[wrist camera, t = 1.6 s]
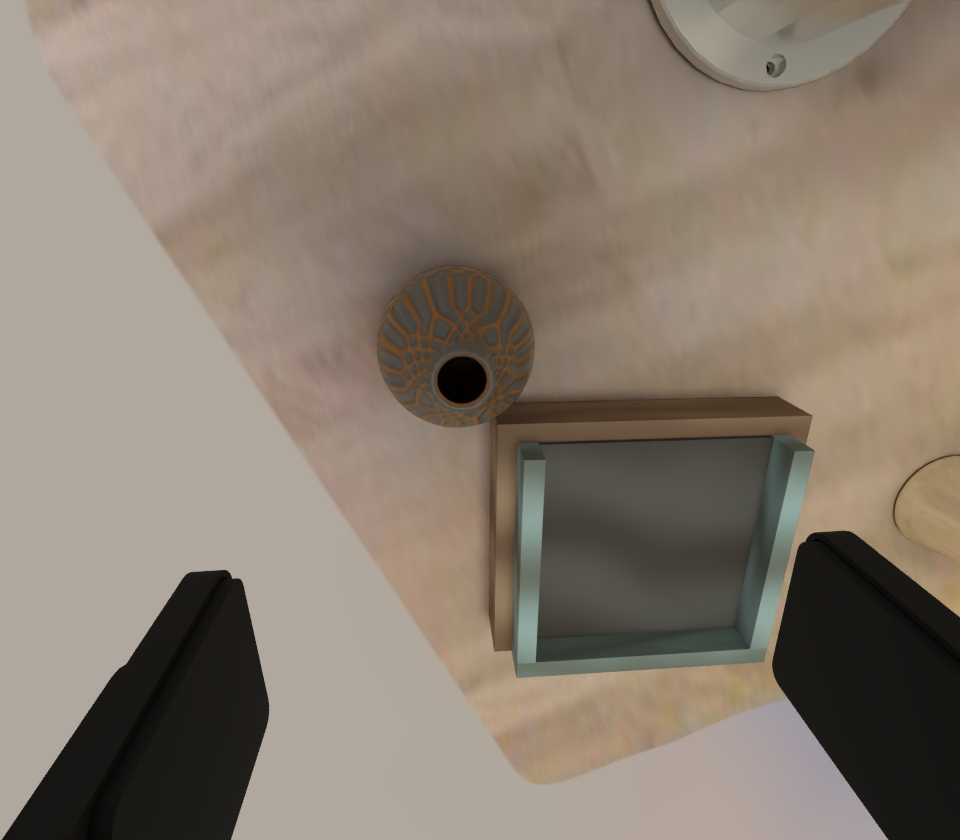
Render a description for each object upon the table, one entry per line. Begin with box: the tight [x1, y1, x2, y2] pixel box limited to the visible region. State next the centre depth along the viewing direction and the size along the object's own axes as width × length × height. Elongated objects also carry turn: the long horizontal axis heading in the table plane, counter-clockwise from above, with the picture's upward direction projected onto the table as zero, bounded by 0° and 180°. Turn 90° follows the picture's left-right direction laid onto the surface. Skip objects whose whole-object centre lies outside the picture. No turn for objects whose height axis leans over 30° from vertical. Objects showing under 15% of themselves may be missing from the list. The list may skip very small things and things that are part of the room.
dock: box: [489, 397, 815, 678], centre depth 30 cm, size 14×16×5 cm
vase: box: [377, 266, 535, 428], centre depth 24 cm, size 7×7×9 cm
